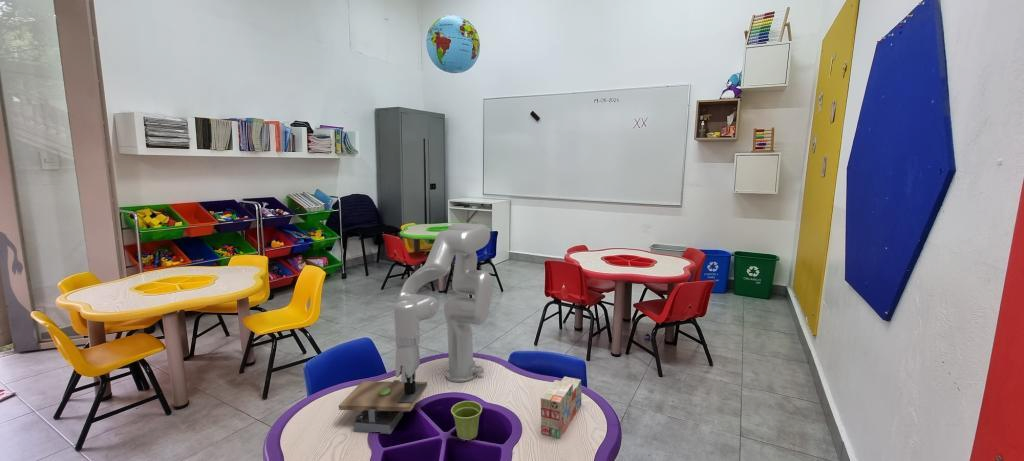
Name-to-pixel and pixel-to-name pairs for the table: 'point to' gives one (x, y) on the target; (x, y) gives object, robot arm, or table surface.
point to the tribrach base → (377, 420)
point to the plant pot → (466, 418)
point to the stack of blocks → (560, 406)
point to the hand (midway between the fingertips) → (410, 392)
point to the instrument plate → (382, 396)
